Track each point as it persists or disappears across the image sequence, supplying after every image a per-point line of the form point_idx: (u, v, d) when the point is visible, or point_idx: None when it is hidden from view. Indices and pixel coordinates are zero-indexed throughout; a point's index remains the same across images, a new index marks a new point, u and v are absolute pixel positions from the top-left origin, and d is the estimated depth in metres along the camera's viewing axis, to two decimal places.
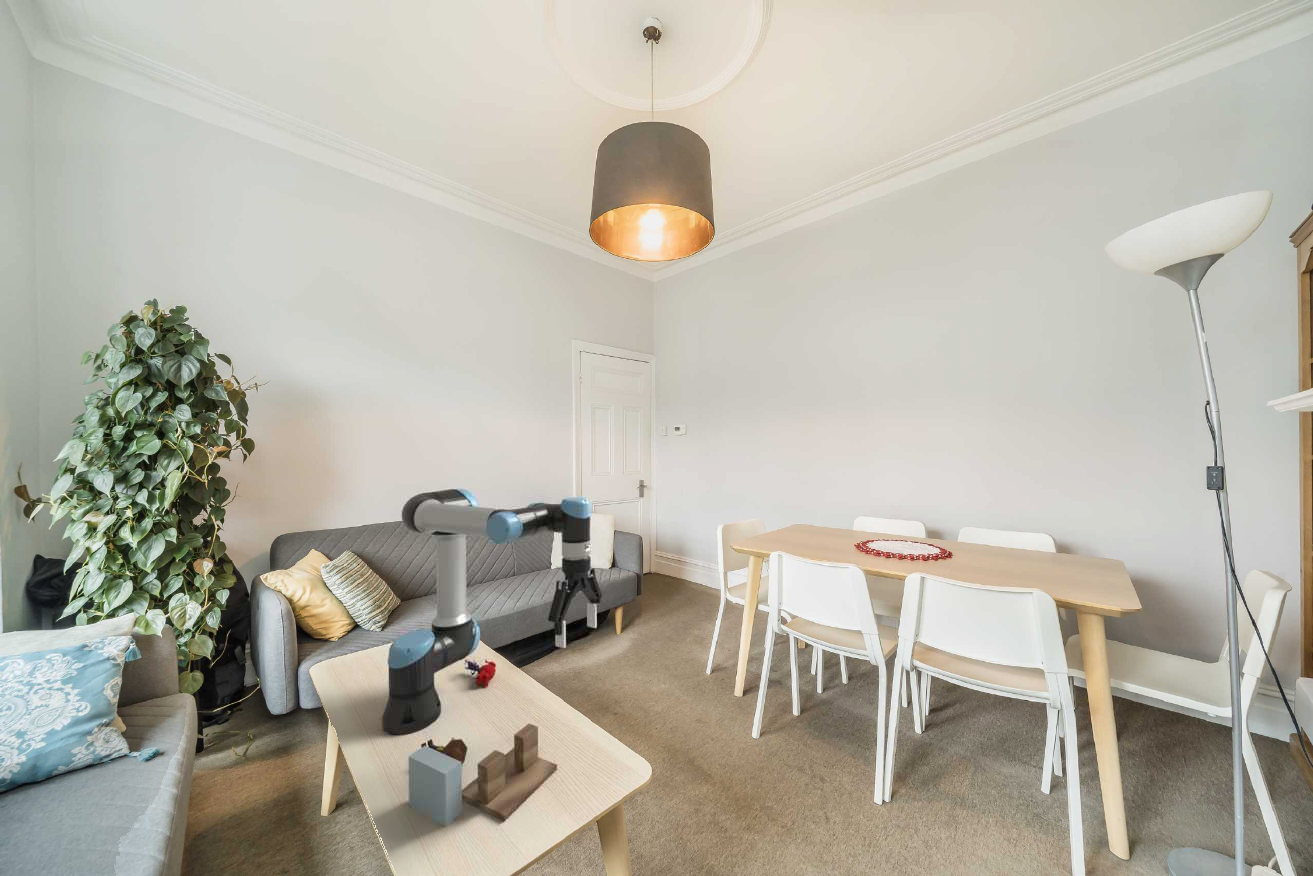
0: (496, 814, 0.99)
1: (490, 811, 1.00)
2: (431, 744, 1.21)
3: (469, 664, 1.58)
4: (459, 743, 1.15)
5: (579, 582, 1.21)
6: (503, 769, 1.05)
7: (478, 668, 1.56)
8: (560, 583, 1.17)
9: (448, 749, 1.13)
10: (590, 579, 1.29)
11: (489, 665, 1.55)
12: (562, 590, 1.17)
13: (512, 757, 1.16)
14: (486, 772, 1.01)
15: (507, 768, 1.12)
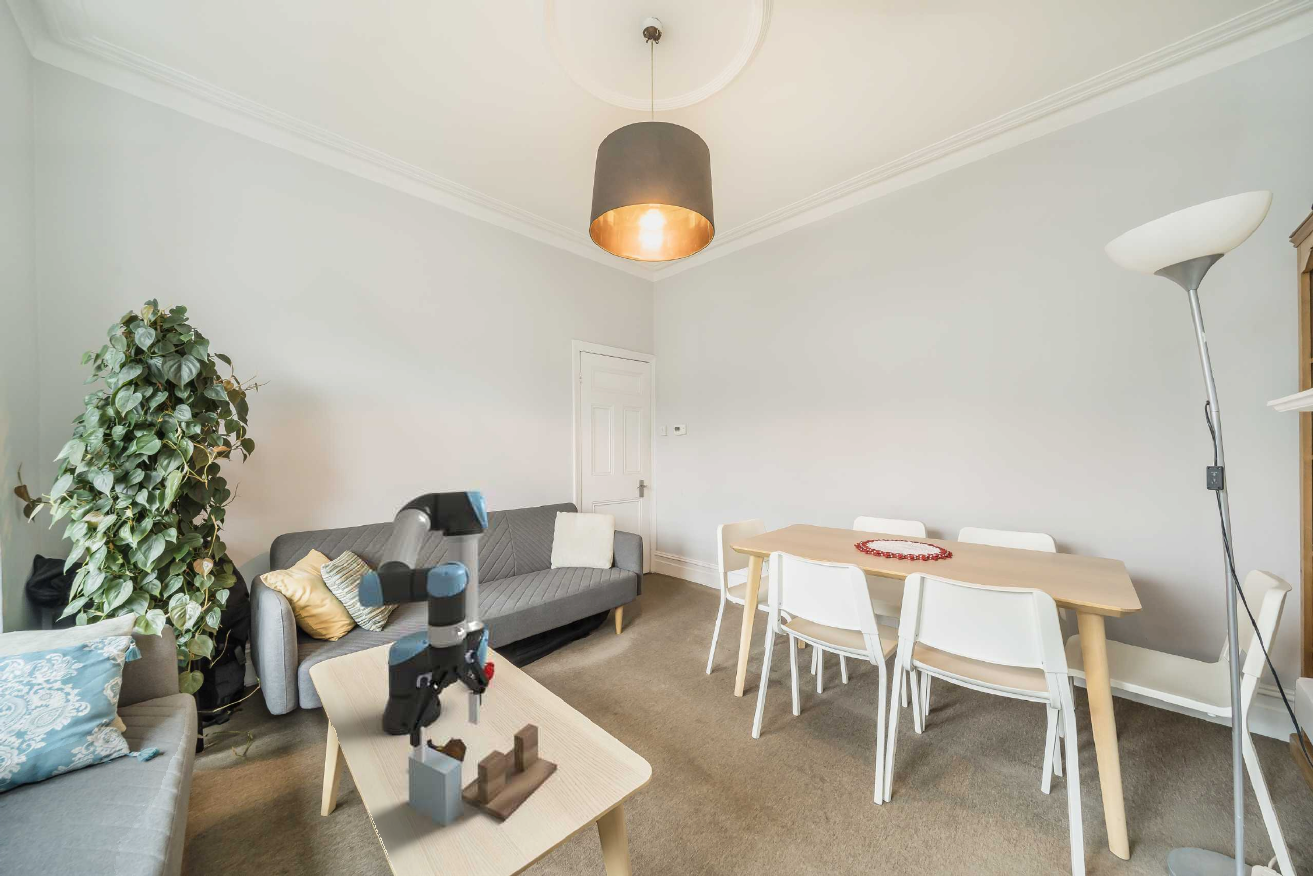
0: (496, 814, 0.99)
1: (490, 811, 1.00)
2: (430, 744, 1.22)
3: None
4: (458, 742, 1.15)
5: (448, 674, 0.97)
6: (503, 769, 1.05)
7: None
8: (418, 680, 0.93)
9: (447, 749, 1.13)
10: (471, 664, 1.05)
11: (488, 665, 1.54)
12: (420, 689, 0.93)
13: (512, 757, 1.16)
14: (486, 772, 1.01)
15: (507, 768, 1.12)
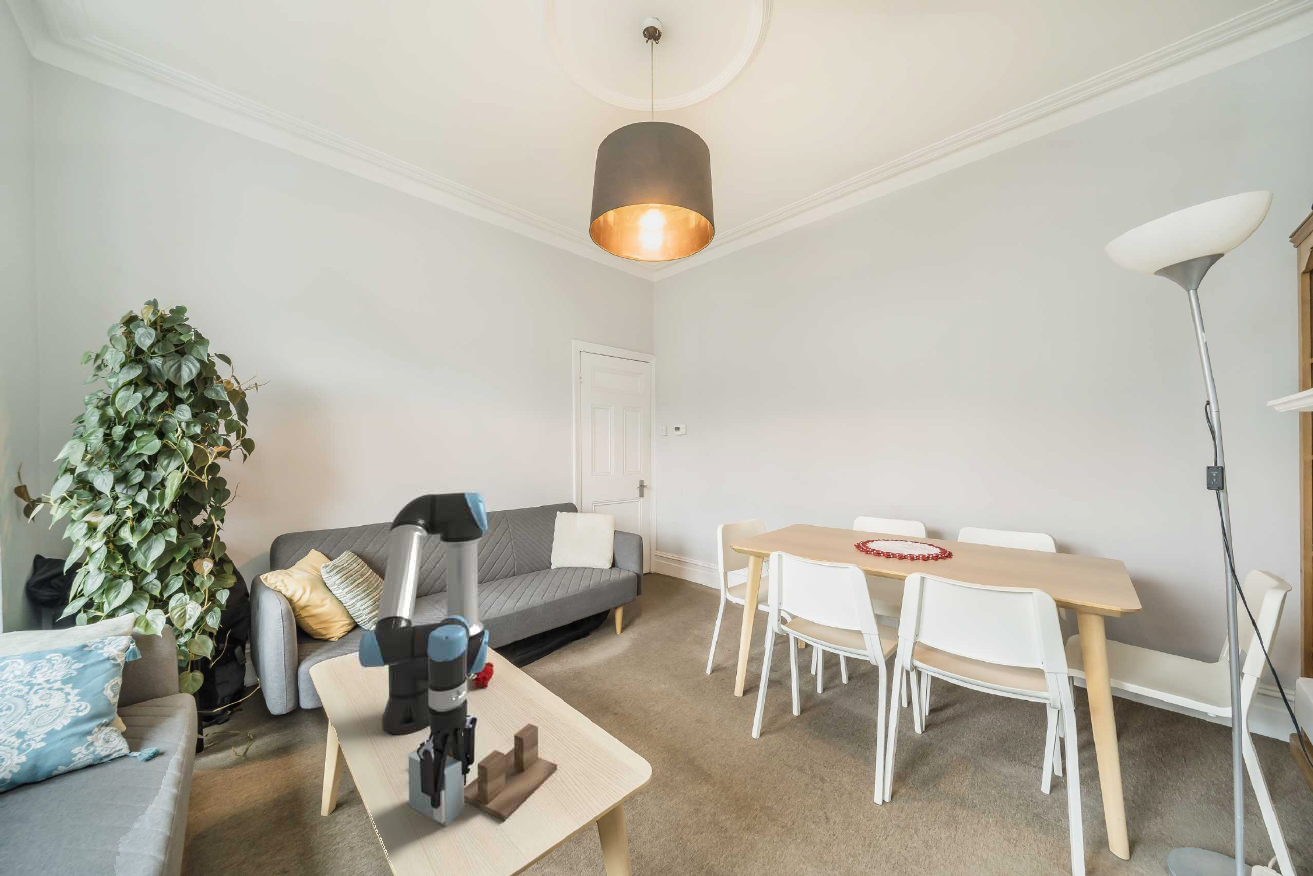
0: (496, 814, 0.99)
1: (490, 811, 1.00)
2: None
3: None
4: None
5: (449, 738, 0.97)
6: (503, 769, 1.05)
7: None
8: (420, 754, 0.93)
9: None
10: (467, 731, 1.03)
11: (487, 666, 1.54)
12: (426, 761, 0.94)
13: (512, 757, 1.16)
14: (486, 772, 1.01)
15: (507, 768, 1.12)
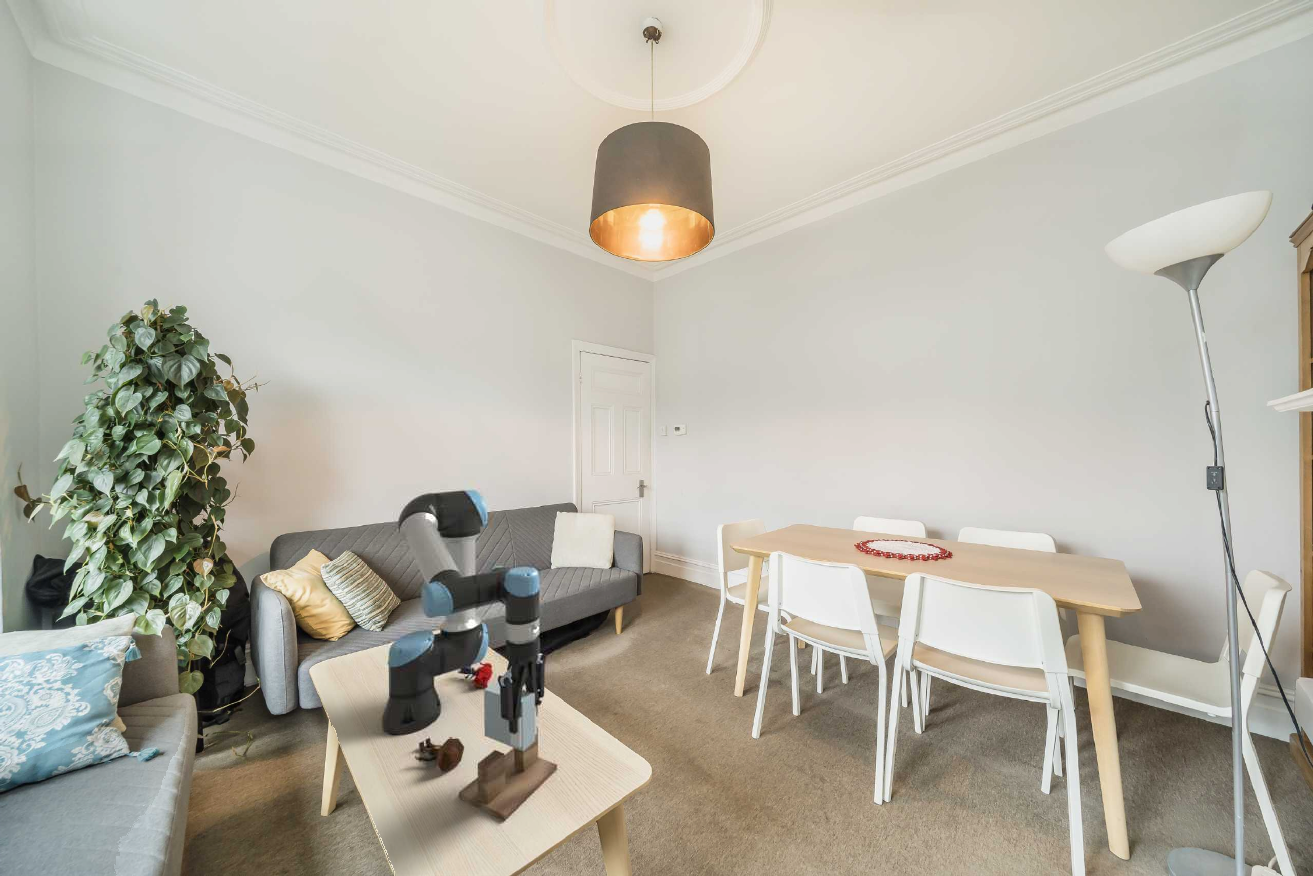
0: (496, 814, 0.99)
1: (490, 811, 1.00)
2: (429, 743, 1.22)
3: (462, 668, 1.56)
4: (456, 742, 1.16)
5: (525, 669, 1.05)
6: (503, 769, 1.05)
7: (473, 671, 1.54)
8: (502, 682, 1.01)
9: (445, 748, 1.13)
10: (538, 667, 1.11)
11: (486, 666, 1.54)
12: (506, 688, 1.01)
13: (512, 757, 1.16)
14: (486, 772, 1.01)
15: (507, 768, 1.12)
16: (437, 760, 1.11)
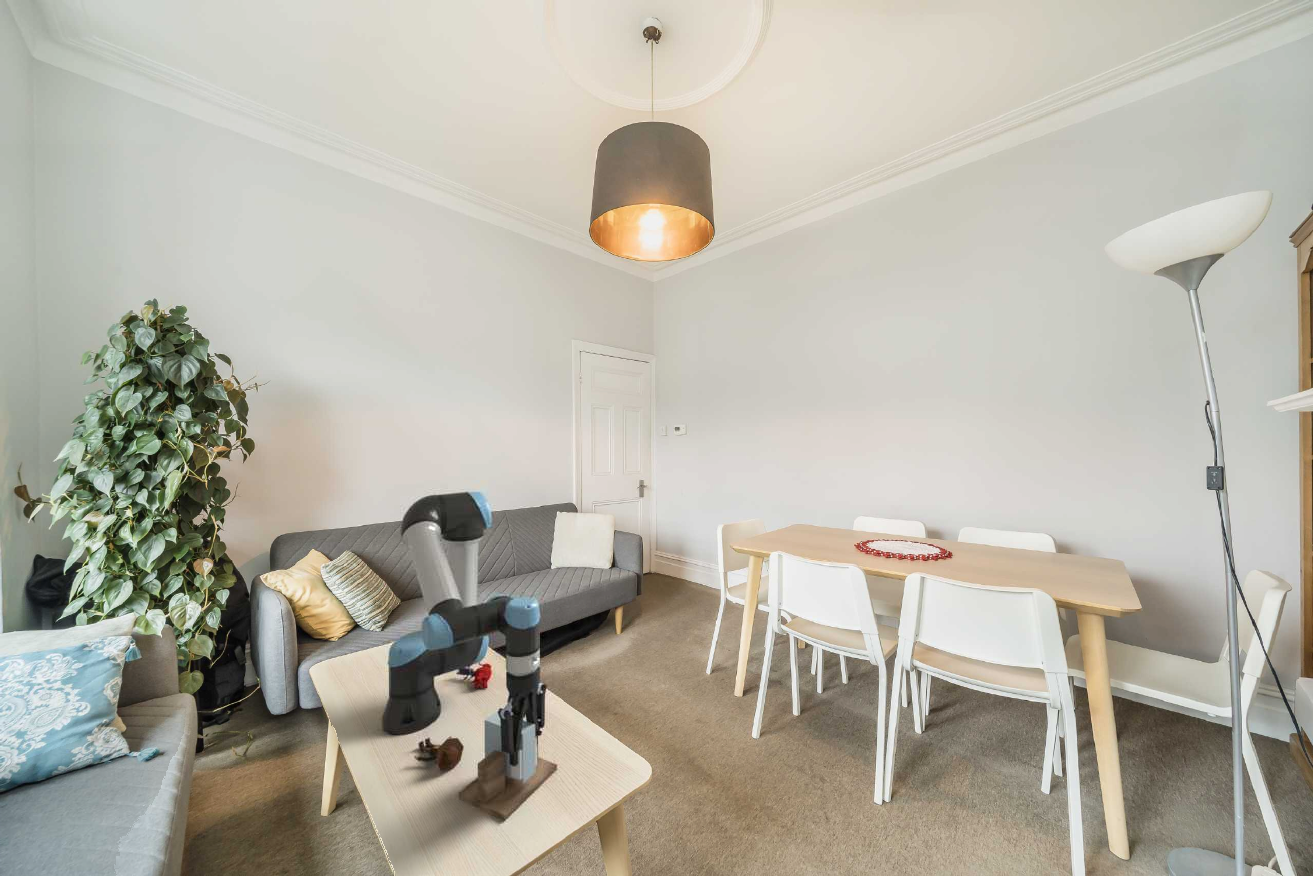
0: (496, 814, 0.99)
1: (490, 811, 1.00)
2: (428, 742, 1.22)
3: (461, 669, 1.55)
4: (455, 741, 1.16)
5: (525, 701, 1.05)
6: (503, 769, 1.05)
7: (472, 671, 1.54)
8: (502, 715, 1.01)
9: (444, 748, 1.13)
10: (538, 697, 1.11)
11: (485, 667, 1.53)
12: (507, 721, 1.01)
13: None
14: (486, 772, 1.01)
15: None
16: (436, 760, 1.11)
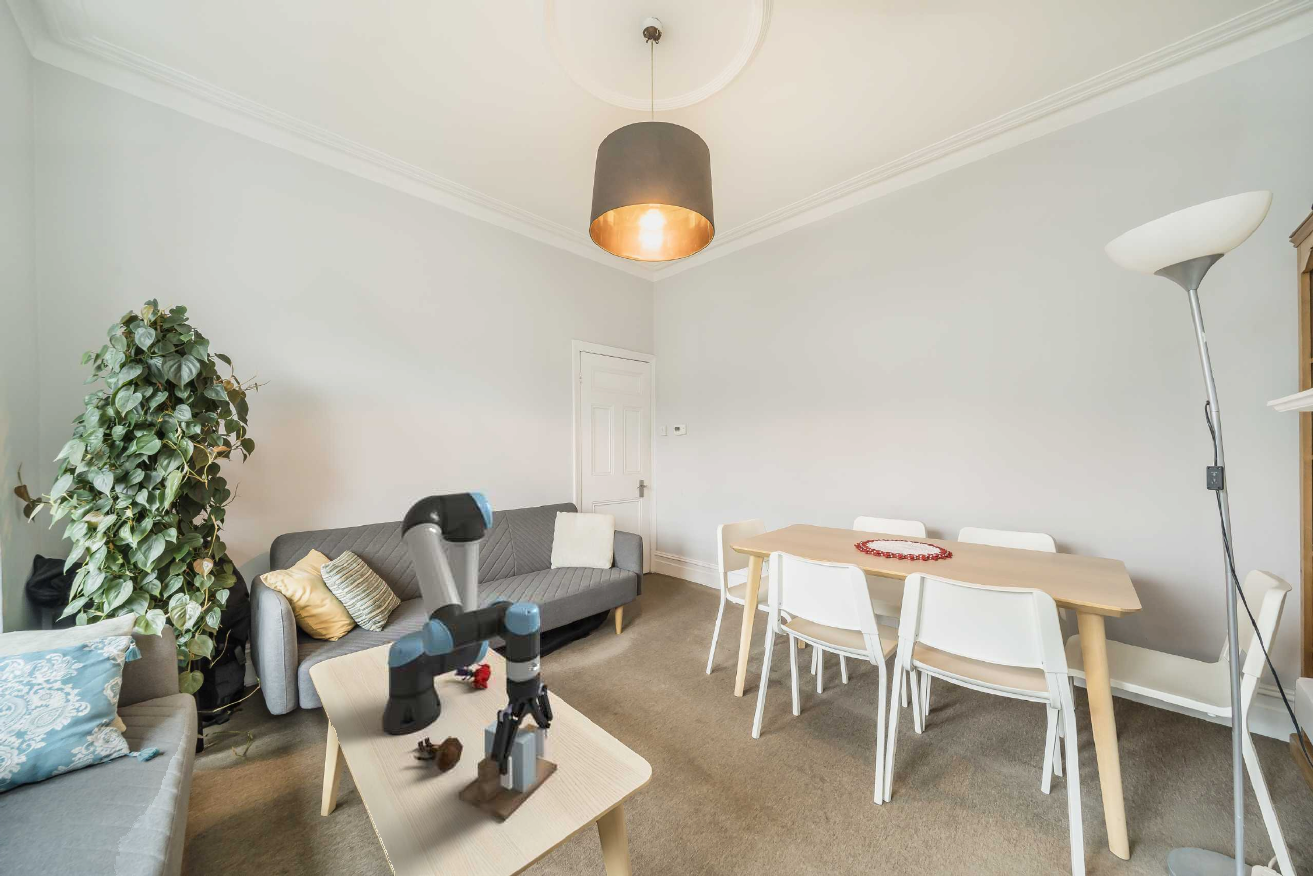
0: (496, 814, 0.99)
1: (490, 811, 1.00)
2: (428, 742, 1.22)
3: (459, 670, 1.54)
4: (455, 741, 1.16)
5: (525, 706, 1.05)
6: None
7: (471, 672, 1.53)
8: (501, 716, 1.01)
9: (443, 747, 1.13)
10: (541, 697, 1.12)
11: (485, 667, 1.53)
12: (504, 723, 1.00)
13: None
14: (486, 772, 1.01)
15: None
16: (436, 759, 1.12)
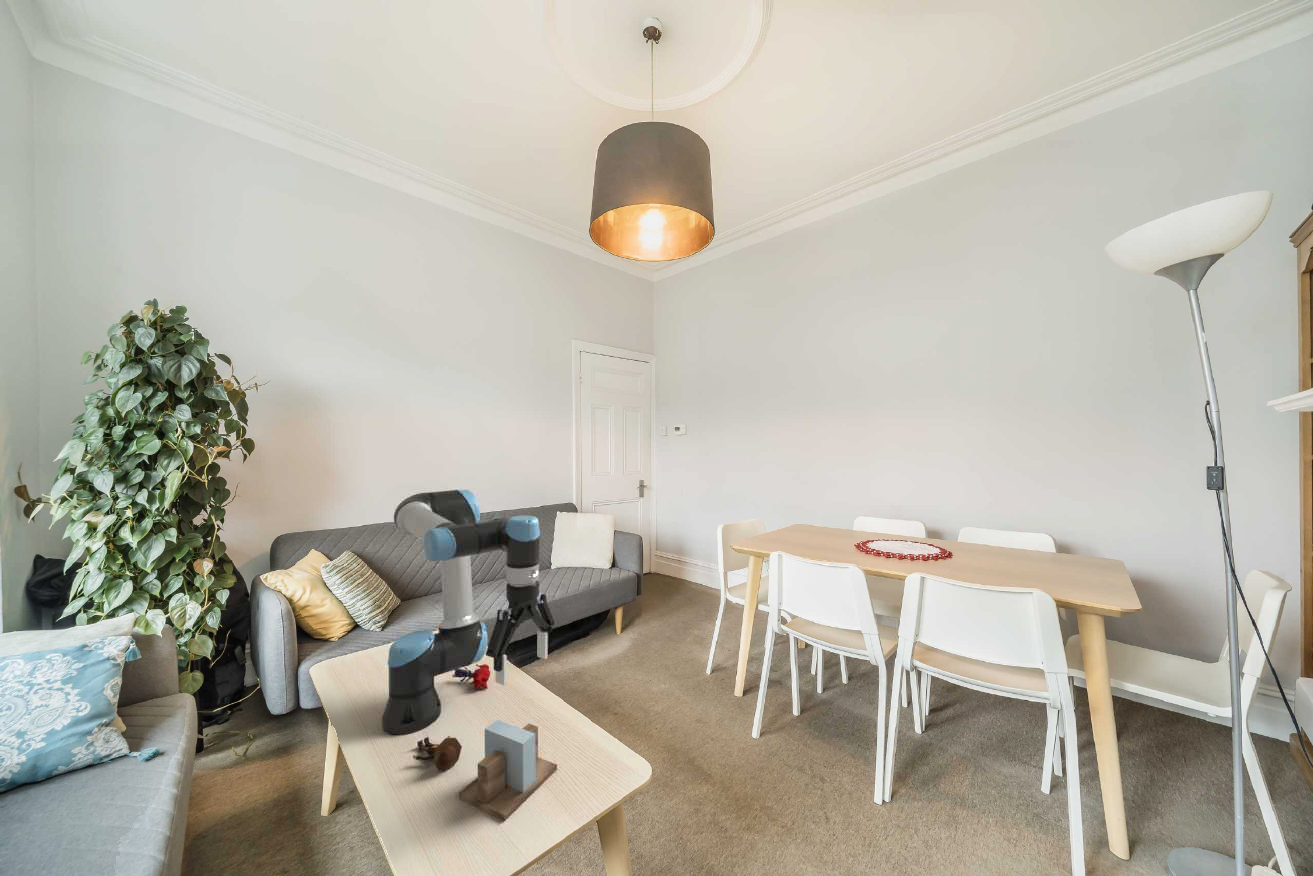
0: (496, 814, 0.99)
1: (490, 811, 1.00)
2: (427, 742, 1.22)
3: (457, 671, 1.54)
4: (453, 741, 1.16)
5: (524, 611, 1.09)
6: (503, 769, 1.05)
7: (470, 673, 1.53)
8: (501, 613, 1.05)
9: (442, 747, 1.14)
10: (540, 605, 1.17)
11: (484, 668, 1.53)
12: (503, 621, 1.05)
13: None
14: (486, 772, 1.01)
15: None
16: (434, 759, 1.12)
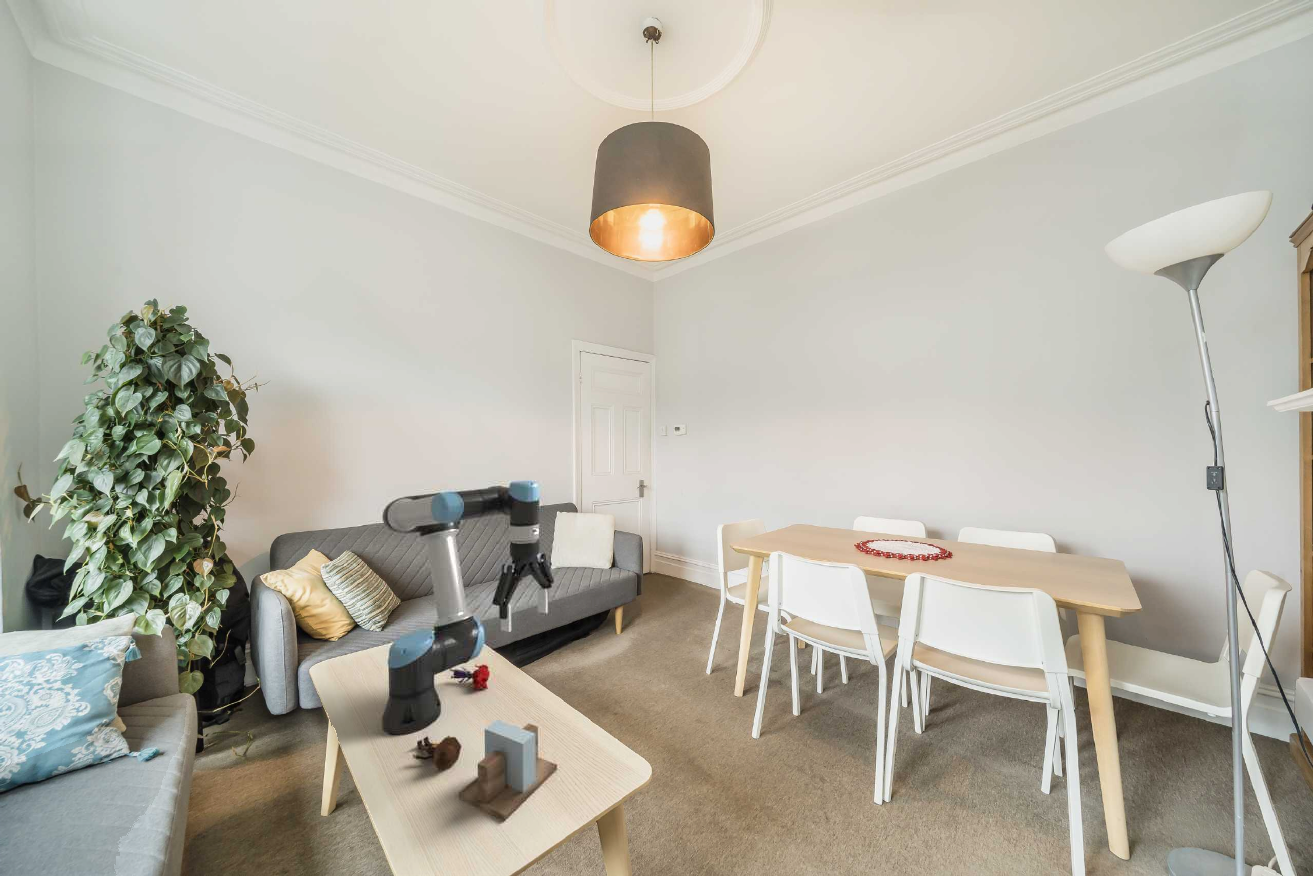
0: (496, 814, 0.99)
1: (490, 811, 1.00)
2: (427, 741, 1.23)
3: (456, 672, 1.53)
4: (453, 741, 1.16)
5: (527, 566, 1.20)
6: (503, 769, 1.05)
7: (469, 674, 1.52)
8: (505, 567, 1.16)
9: (442, 747, 1.14)
10: (541, 564, 1.27)
11: (483, 668, 1.53)
12: (507, 573, 1.15)
13: None
14: (486, 772, 1.01)
15: None
16: (434, 758, 1.12)
